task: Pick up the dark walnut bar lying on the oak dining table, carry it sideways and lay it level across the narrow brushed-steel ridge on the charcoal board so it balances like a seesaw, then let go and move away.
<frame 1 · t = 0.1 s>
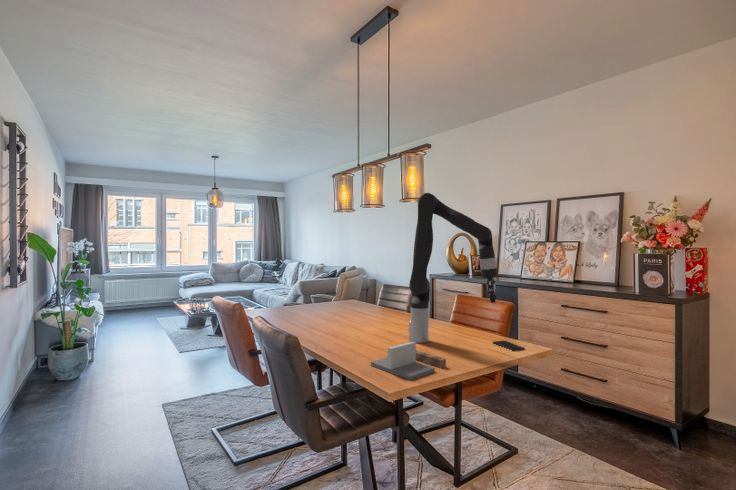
hand: (493, 301, 187), 22 cm above the table, tool pointing down, fingers open, 8 cm apart
walnut bar: (424, 362, 166), on the table
phone: (508, 347, 190), on the table
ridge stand: (401, 368, 156), on the table
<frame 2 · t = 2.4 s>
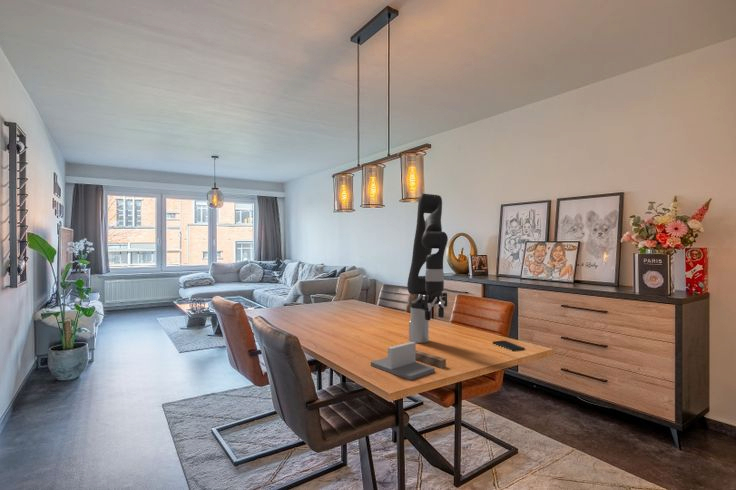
hand: (434, 318, 162), 19 cm above the table, tool pointing down, fingers open, 8 cm apart
nothing on the table moved.
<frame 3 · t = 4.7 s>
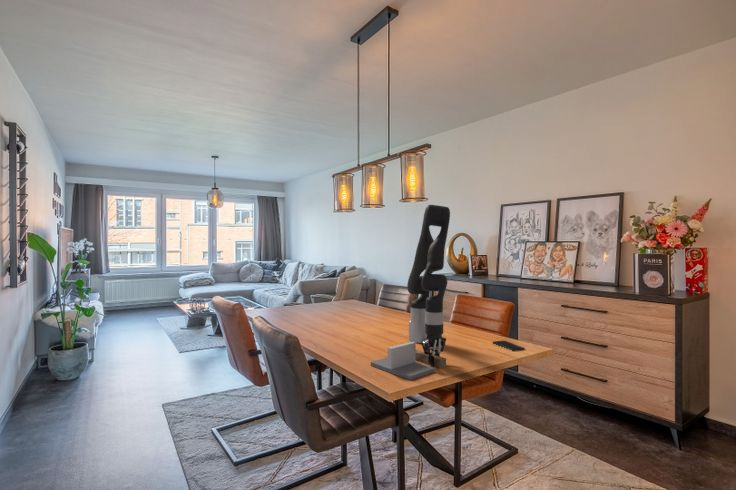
hand: (434, 363, 162), 0 cm above the table, tool pointing down, fingers closed on walnut bar, 3 cm apart
walnut bar: (424, 361, 166), on the table, touching gripper
everything else where it was.
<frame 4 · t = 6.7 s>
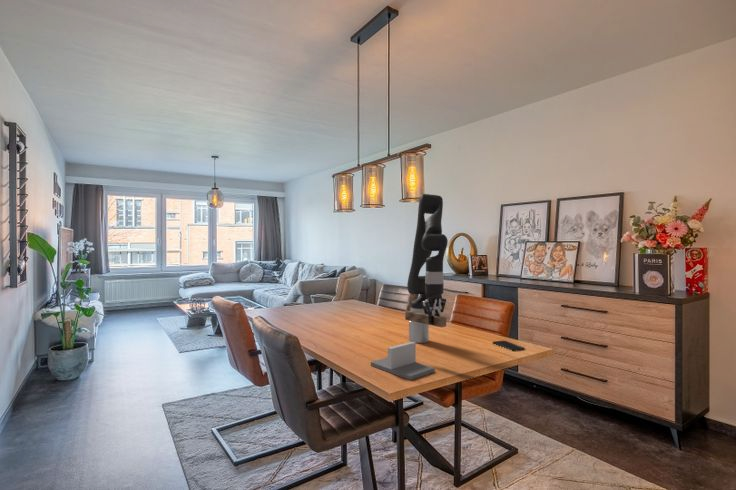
hand: (434, 323, 162), 17 cm above the table, tool pointing down, fingers closed on walnut bar, 3 cm apart
walnut bar: (424, 322, 165), point 17 cm above the table, touching gripper
everything else where it was.
when the fingers open (11 cm above the table, at t = 9.0 s): walnut bar stays where it is, resting on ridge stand.
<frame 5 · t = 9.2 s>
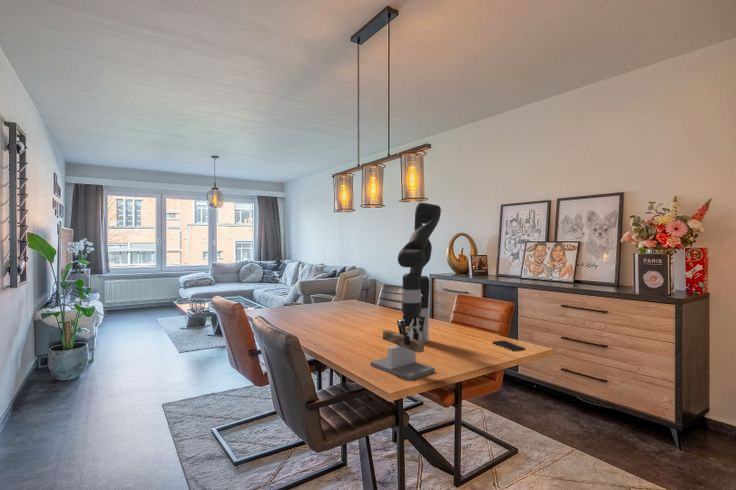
hand: (411, 343, 153), 11 cm above the table, tool pointing down, fingers open, 4 cm apart
walnut bar: (402, 345, 156), point 10 cm above the table, touching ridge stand
everything else where it was.
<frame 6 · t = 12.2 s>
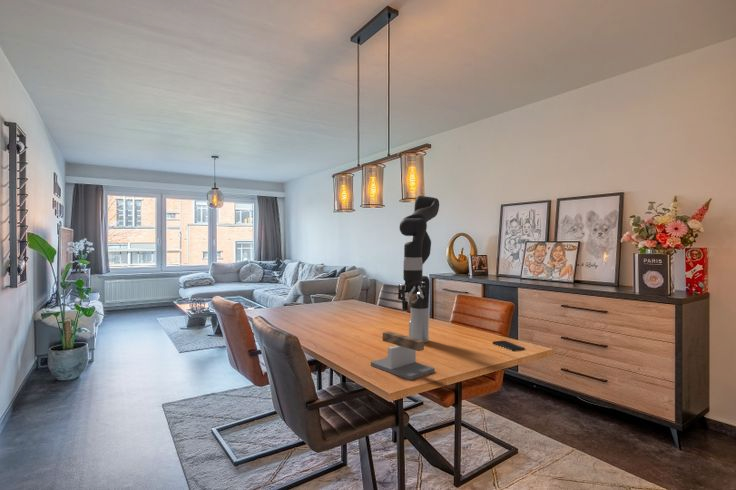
hand: (412, 309, 155), 24 cm above the table, tool pointing down, fingers open, 8 cm apart
nothing on the table moved.
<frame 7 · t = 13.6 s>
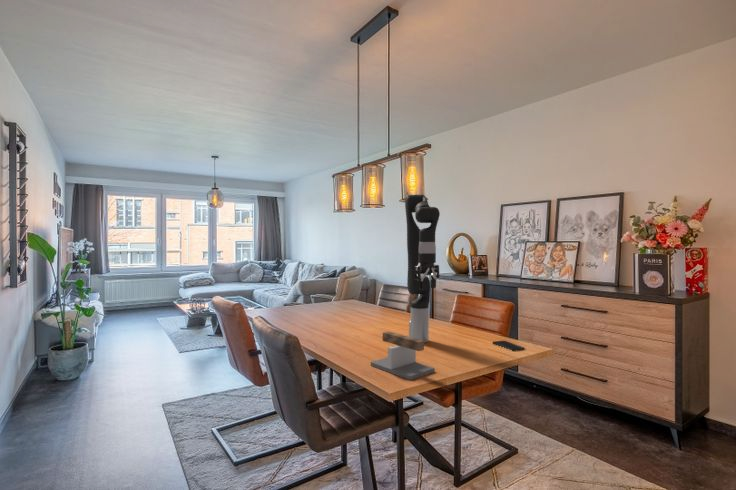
hand: (427, 288, 172), 30 cm above the table, tool pointing down, fingers open, 8 cm apart
nothing on the table moved.
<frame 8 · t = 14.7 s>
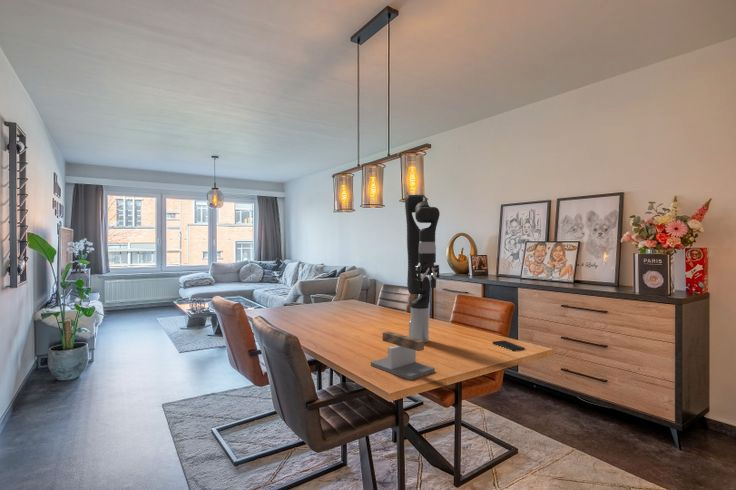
hand: (427, 288, 172), 30 cm above the table, tool pointing down, fingers open, 8 cm apart
nothing on the table moved.
at the end: walnut bar 0.2 cm from the target spot, point 9.5 cm above the table; walnut bar tilted 0°; the gripper is holding nothing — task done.
